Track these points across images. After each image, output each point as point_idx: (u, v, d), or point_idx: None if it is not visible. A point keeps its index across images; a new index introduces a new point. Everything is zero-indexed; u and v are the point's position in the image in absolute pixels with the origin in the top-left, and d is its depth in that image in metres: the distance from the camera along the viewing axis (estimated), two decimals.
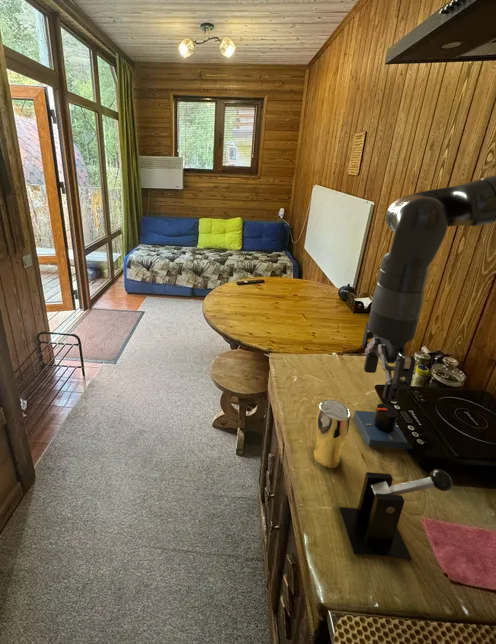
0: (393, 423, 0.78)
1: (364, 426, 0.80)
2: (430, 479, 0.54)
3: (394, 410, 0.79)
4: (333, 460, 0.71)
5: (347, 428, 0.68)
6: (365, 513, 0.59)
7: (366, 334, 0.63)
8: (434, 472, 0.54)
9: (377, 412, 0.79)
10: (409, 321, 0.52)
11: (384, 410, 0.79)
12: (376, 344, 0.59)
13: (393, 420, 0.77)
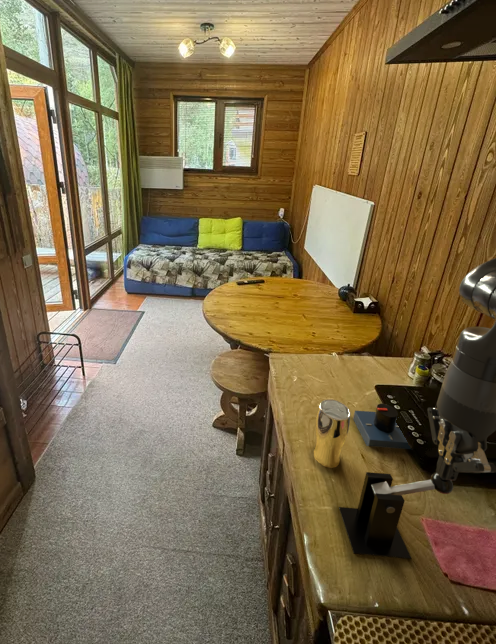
0: (393, 423, 0.78)
1: (364, 426, 0.80)
2: (431, 481, 0.54)
3: (394, 410, 0.79)
4: (333, 460, 0.71)
5: (347, 428, 0.68)
6: (365, 513, 0.59)
7: (433, 422, 0.55)
8: (436, 475, 0.54)
9: (377, 412, 0.79)
10: (495, 413, 0.45)
11: (384, 410, 0.79)
12: (447, 427, 0.51)
13: (393, 420, 0.77)
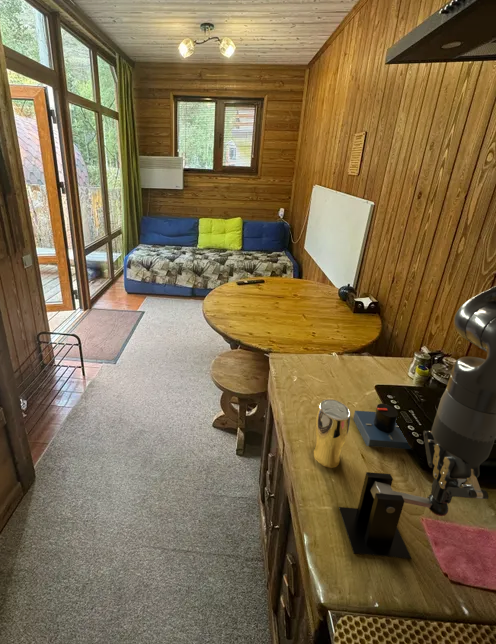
0: (393, 423, 0.78)
1: (364, 426, 0.80)
2: (429, 500, 0.55)
3: (394, 410, 0.79)
4: (333, 460, 0.71)
5: (347, 428, 0.68)
6: (365, 513, 0.59)
7: (428, 446, 0.56)
8: None
9: (377, 412, 0.79)
10: (487, 442, 0.46)
11: (384, 410, 0.79)
12: (442, 452, 0.53)
13: (393, 420, 0.77)
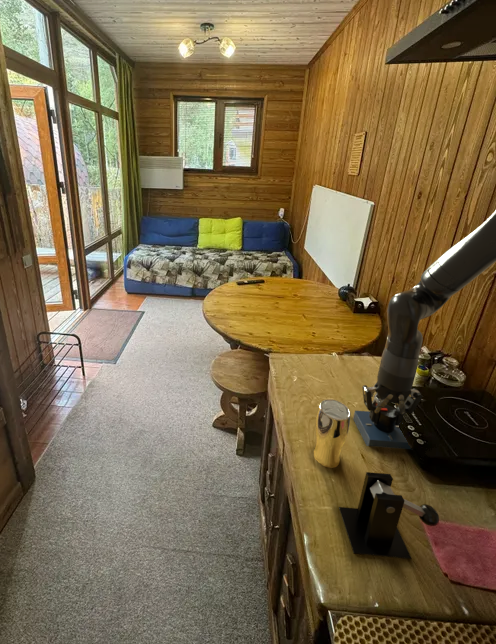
0: (393, 423, 0.78)
1: (364, 426, 0.80)
2: (422, 509, 0.56)
3: (394, 410, 0.79)
4: (333, 460, 0.71)
5: (347, 428, 0.68)
6: (365, 513, 0.59)
7: None
8: (430, 506, 0.56)
9: None
10: (383, 369, 0.75)
11: (384, 410, 0.79)
12: None
13: (393, 420, 0.77)
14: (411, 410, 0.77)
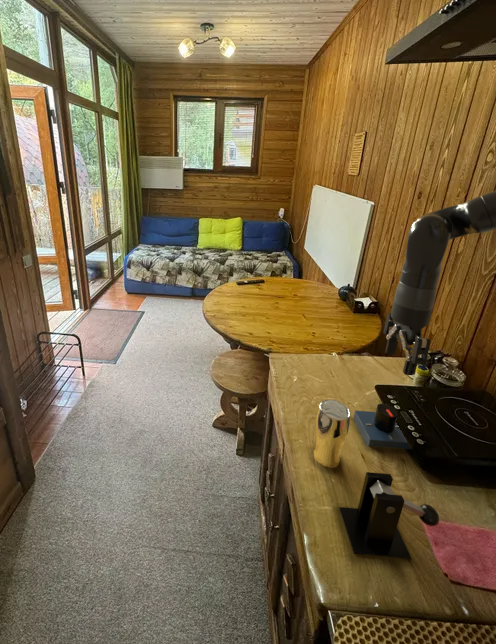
0: None
1: (364, 426, 0.80)
2: (422, 509, 0.56)
3: (383, 405, 0.81)
4: (333, 460, 0.71)
5: (347, 428, 0.68)
6: (365, 513, 0.59)
7: (388, 323, 0.78)
8: (430, 506, 0.56)
9: (392, 419, 0.77)
10: (425, 311, 0.67)
11: (390, 412, 0.78)
12: (397, 330, 0.73)
13: None
14: None
